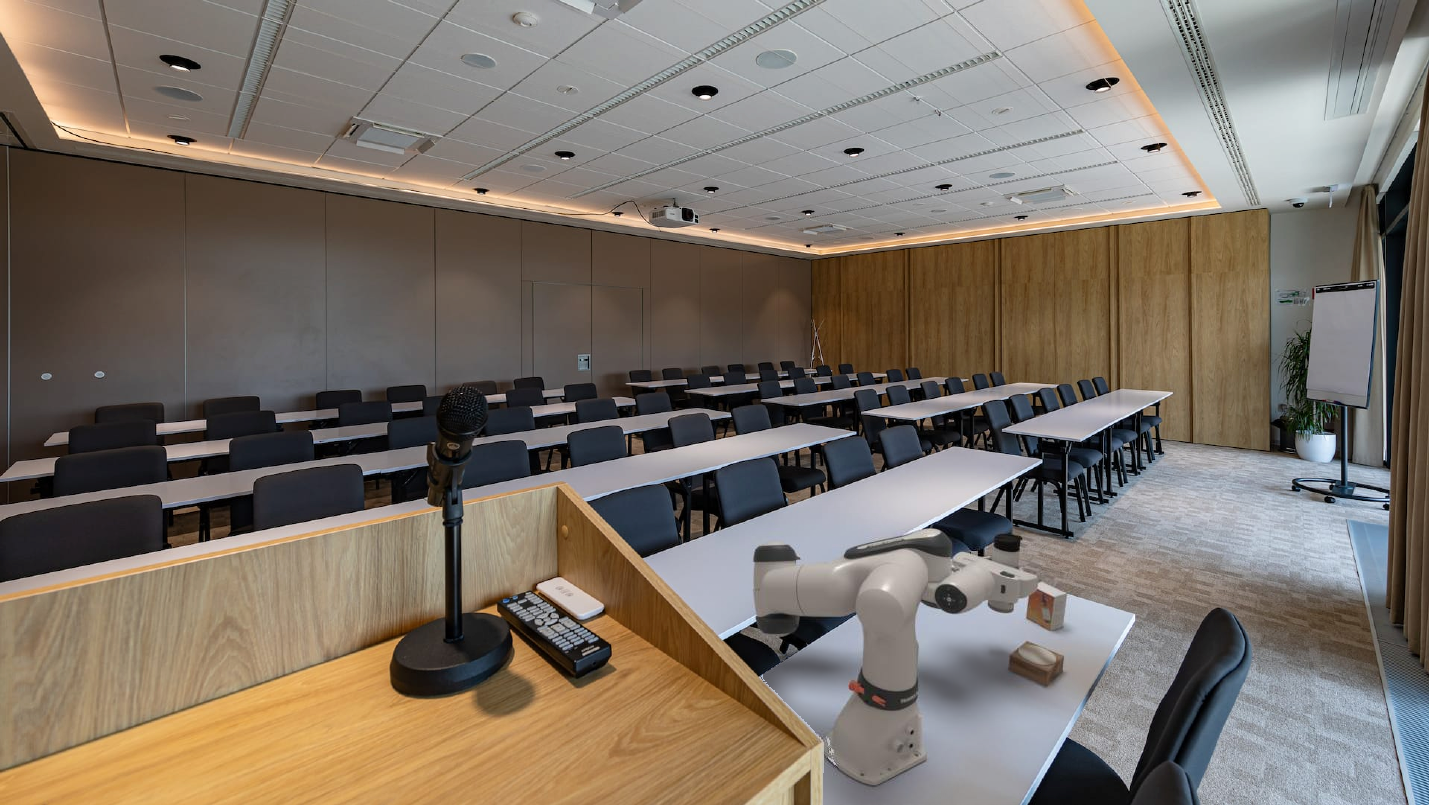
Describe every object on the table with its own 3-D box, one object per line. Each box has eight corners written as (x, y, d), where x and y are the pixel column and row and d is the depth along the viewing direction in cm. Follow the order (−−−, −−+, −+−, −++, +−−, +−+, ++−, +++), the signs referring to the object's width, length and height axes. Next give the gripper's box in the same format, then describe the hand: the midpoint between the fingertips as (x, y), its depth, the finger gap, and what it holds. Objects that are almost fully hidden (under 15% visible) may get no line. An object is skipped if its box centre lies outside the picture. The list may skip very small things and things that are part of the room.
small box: (1025, 618, 178) (1028, 584, 176) (1038, 614, 181) (1042, 581, 179) (1050, 631, 171) (1054, 596, 169) (1063, 627, 173) (1067, 592, 172)
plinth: (1046, 686, 147) (1047, 670, 146) (1008, 669, 153) (1009, 654, 153) (1062, 670, 153) (1064, 655, 152) (1025, 654, 160) (1027, 639, 159)
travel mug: (1017, 615, 156) (1025, 541, 153) (990, 612, 158) (997, 538, 155) (1011, 603, 163) (1018, 532, 159) (985, 601, 164) (991, 530, 161)
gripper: (941, 577, 158) (967, 562, 167) (1022, 606, 143) (1045, 589, 152) (943, 554, 157) (968, 540, 166) (1024, 581, 142) (1048, 565, 151)
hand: (1006, 564), depth 159 cm, fingers closed on travel mug, 6 cm apart
